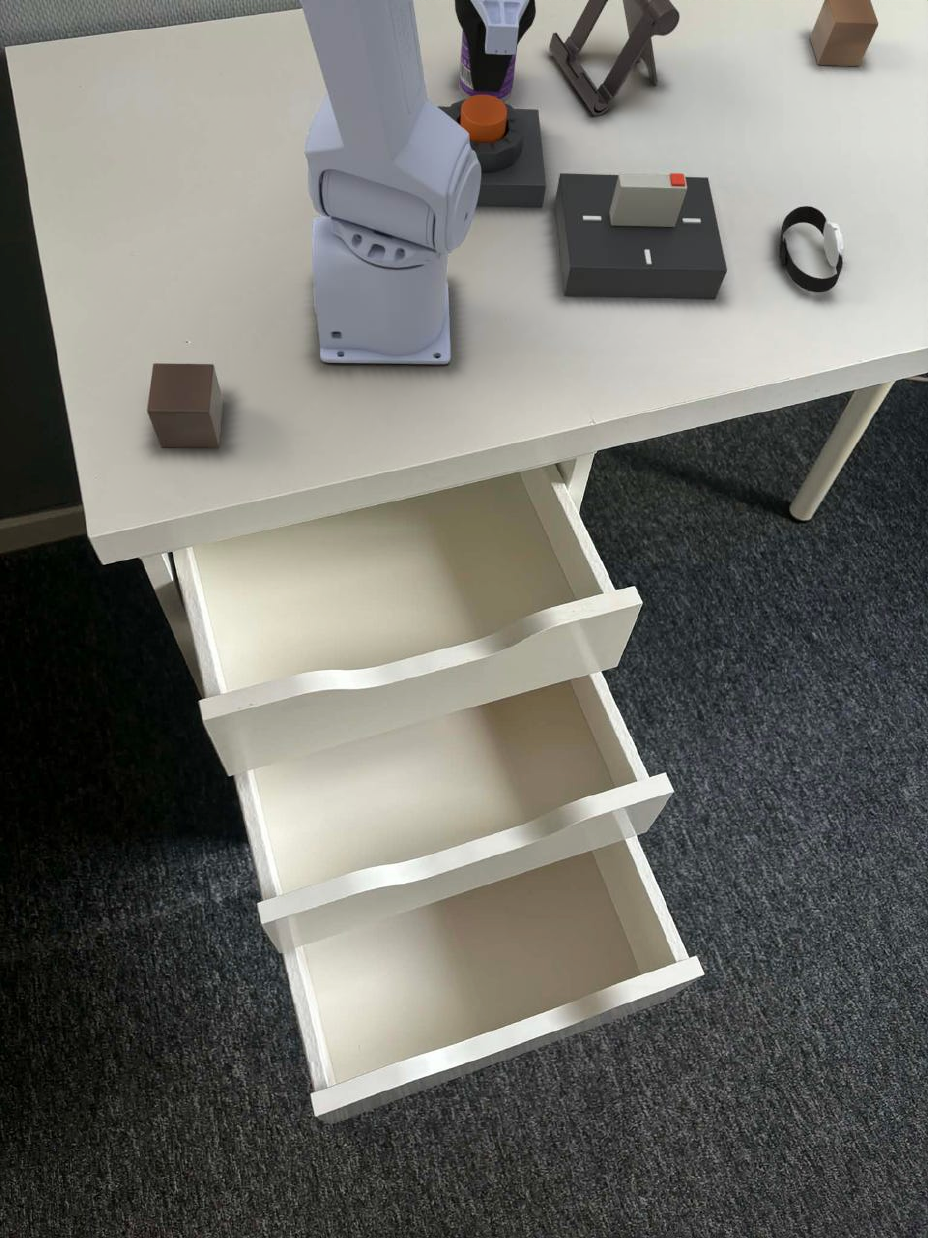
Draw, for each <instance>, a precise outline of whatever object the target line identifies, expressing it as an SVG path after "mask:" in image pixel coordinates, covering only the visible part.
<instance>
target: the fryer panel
mask: <svg viewBox="0 0 928 1238" xmlns="http://www.w3.org/2000/svg"><path fill="white" fill-rule="evenodd" d="M618 175H619V174H599V173H596V174H595V173H567V172H566V173H565V172H561V173H559V175H558V176H559V177H558V181H557V182H558V183H557V187H556V193H555V198H554V211H555V212H554V214H555V222H556V223H555V224H556V232H557V242H558V253H559V261H560V270H561V271H560V272H561V278H562V279H561V280H562V281H561V282H562V290H563V296H564V297H584V298H588V297H589V298H590V297H591V298H637V299H638V298H641V299H642V298H643V299H648V298H649V299H685V300H687V299H691V300H693V299H694V300H716V298H717V296H718V294H719V292H720V289H721V286H722V284H723V282H724V280H725V278H726V275H727V272H728V269H727V268H728V267H727V263H726V257H725V253H724V249H723V248H724V247H723V244H722V239H721V234H720V229H719V225H718V224H719V223H718V218H717V215H716V210H715V204H714V199H713V195H712V194H713V193H712V190H711V185H710V180H709V177H705V176H704V177H703V176H685V179H686V184H687V191H686V194H685V197H684V200H683V203H682V206H681V209H680V212H679V215H678V218H677V221H676V224H675V227H655V226H612V225H611V221H610V214H609V212H610V208H611V204H612V200H613V195H614V191H615V187H616V183H617V179H618Z"/></svg>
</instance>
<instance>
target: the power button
mask: <svg viewBox="0 0 928 1238" xmlns="http://www.w3.org/2000/svg"><path fill="white" fill-rule="evenodd" d="M465 99H466V98H465ZM465 99H464V100H465ZM504 103H505V102H502V101H501V100H500V99H498V98H496V97H494V96H490V95H474V96H471V97H469V98H468V99H466V100H465V101H464V103H463V104H462V107H461V122H460V126H461V127H463V128H464V129H465V130H466V131H467V132H468V133H469V139H470V140H472V141H474V142H477V143H493V142H495V141H498V140H500V139H501V138H502V137H503V135H504V133H505V127H506V118H507V108H506V106H505V104H506V103H505V104H504Z"/></svg>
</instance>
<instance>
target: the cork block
mask: <svg viewBox="0 0 928 1238" xmlns="http://www.w3.org/2000/svg"><path fill="white" fill-rule="evenodd" d="M878 26H879V21H878V18H877V15H876V12H875V9H874V7H873V4H872V1H871V0H823V3H822V6H821V7H820V11H819V12H818V15H817V18H816V21H815V23H814V26H813V28H812V31H811V33H810V36H809V39H810V43H811V47H812V50H813V53H814V57H815V60H816V63H817V65H818V66H835V67H837V66H838V67H839V66H840V67H860V66H861V63H862V61H863V59H864V57H865V56H866V52H867V50H868V49H869V46H870V44H871V41H872V39H873V37H874V35H875V33H876V31H877V29H878Z"/></svg>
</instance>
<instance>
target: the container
mask: <svg viewBox="0 0 928 1238" xmlns="http://www.w3.org/2000/svg"><path fill="white" fill-rule="evenodd" d="M461 35H462V36H461V50H460V64H459V65H460V67H459V82H458V83H459V84H458V87H459V90H460V94H461V95H462V96H463V98H464V99H468V98H469V97H471V96H474V95H490V96H494V97H496V98H498V99H500V100H501V101H502V102H503V103H505V102H506V101H507V100H508V99H509V98H510V97H511V96H512V92H513V86H514V80H515V79H514V78H515V71H516V61H517V52H518V46H517V47H516V54H515V55H513V57H512V59H511V62H510V65H509V68H508V71H507V74H506V77H505V80H504V83H503V85H502V87H501V90H500V91H499V92H483V91H474V90H473V86H472V82H471V75H470V63H469V52H468V46H467V41H466V38H465V34H464V32H463V31H462V33H461Z"/></svg>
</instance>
